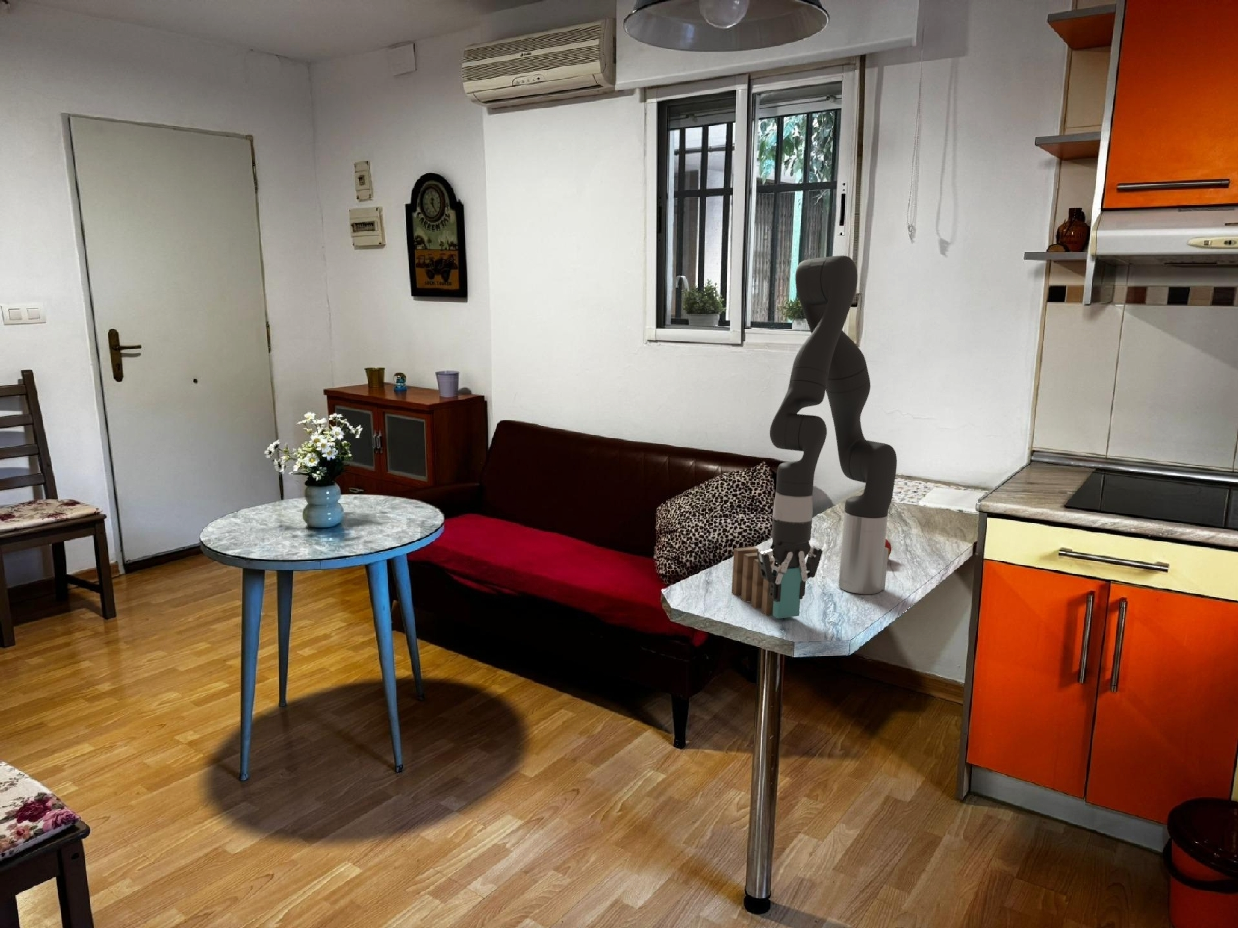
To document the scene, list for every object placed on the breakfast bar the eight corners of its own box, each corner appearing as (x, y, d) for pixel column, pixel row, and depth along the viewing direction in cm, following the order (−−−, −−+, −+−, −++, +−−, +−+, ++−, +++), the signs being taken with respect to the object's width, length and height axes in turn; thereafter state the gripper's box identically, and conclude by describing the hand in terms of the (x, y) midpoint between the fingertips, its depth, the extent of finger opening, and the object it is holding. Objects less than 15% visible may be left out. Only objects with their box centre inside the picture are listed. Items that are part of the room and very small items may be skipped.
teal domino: (794, 612, 172) (797, 565, 170) (799, 615, 170) (802, 567, 168) (772, 615, 170) (775, 567, 168) (777, 618, 168) (780, 569, 166)
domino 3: (771, 603, 179) (774, 557, 178) (776, 606, 178) (779, 560, 176) (751, 605, 178) (753, 559, 176) (755, 608, 176) (758, 561, 174)
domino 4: (782, 610, 176) (785, 563, 174) (787, 613, 174) (790, 565, 172) (761, 612, 174) (764, 565, 172) (766, 615, 172) (769, 567, 170)
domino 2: (761, 596, 183) (764, 552, 181) (765, 599, 182) (768, 554, 180) (741, 599, 181) (743, 553, 180) (745, 601, 180) (748, 556, 178)
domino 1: (751, 590, 187) (754, 546, 185) (755, 593, 185) (758, 549, 184) (731, 592, 185) (734, 548, 183) (735, 595, 184) (738, 550, 182)
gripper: (812, 509, 172) (806, 590, 175) (750, 513, 167) (745, 596, 170) (834, 518, 165) (828, 602, 168) (770, 522, 160) (765, 609, 163)
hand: (786, 599), depth 169 cm, fingers closed on teal domino, 4 cm apart
